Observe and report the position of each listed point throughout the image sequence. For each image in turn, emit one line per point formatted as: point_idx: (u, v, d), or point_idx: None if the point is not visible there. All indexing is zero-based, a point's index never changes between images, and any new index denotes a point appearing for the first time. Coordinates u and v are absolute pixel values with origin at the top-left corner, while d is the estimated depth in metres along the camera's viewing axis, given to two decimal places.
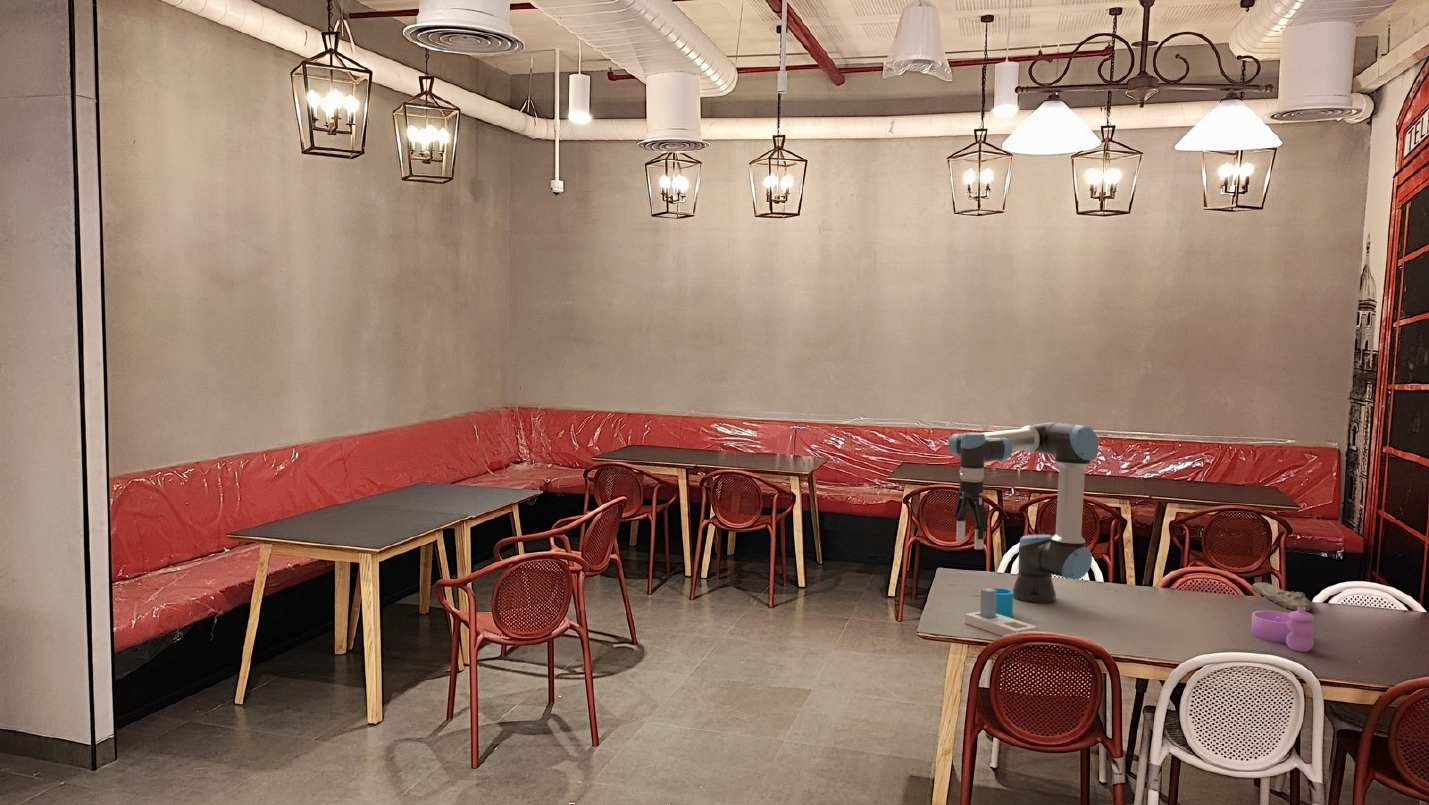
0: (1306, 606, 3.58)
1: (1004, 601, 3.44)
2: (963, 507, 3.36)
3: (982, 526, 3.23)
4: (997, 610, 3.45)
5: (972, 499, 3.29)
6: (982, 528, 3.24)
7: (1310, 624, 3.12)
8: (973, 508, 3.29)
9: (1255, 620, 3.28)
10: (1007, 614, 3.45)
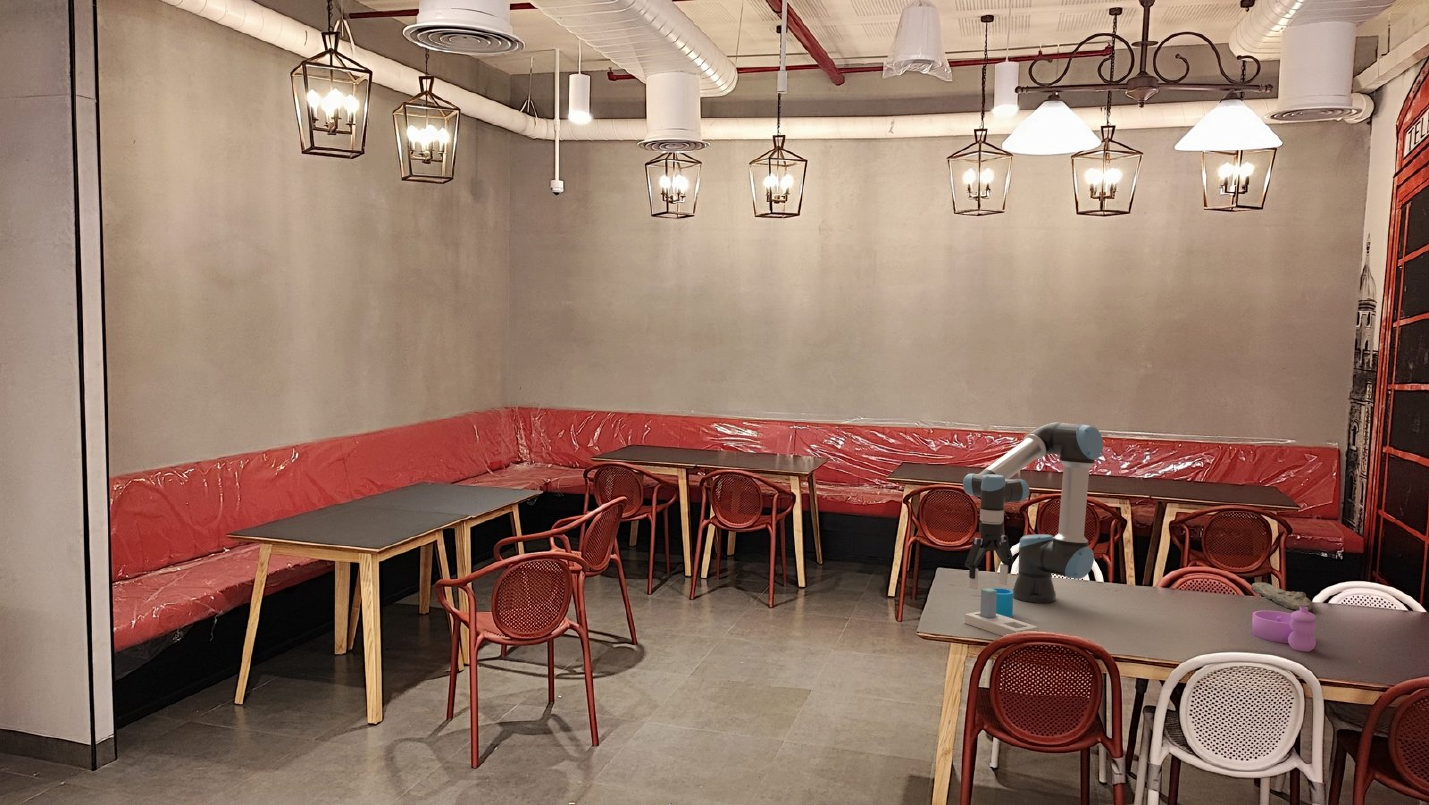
0: (1308, 606, 3.58)
1: (1004, 601, 3.44)
2: None
3: (966, 564, 3.29)
4: (997, 610, 3.45)
5: None
6: (968, 567, 3.29)
7: (1312, 624, 3.12)
8: (979, 548, 3.32)
9: (1256, 620, 3.28)
10: (1007, 614, 3.45)
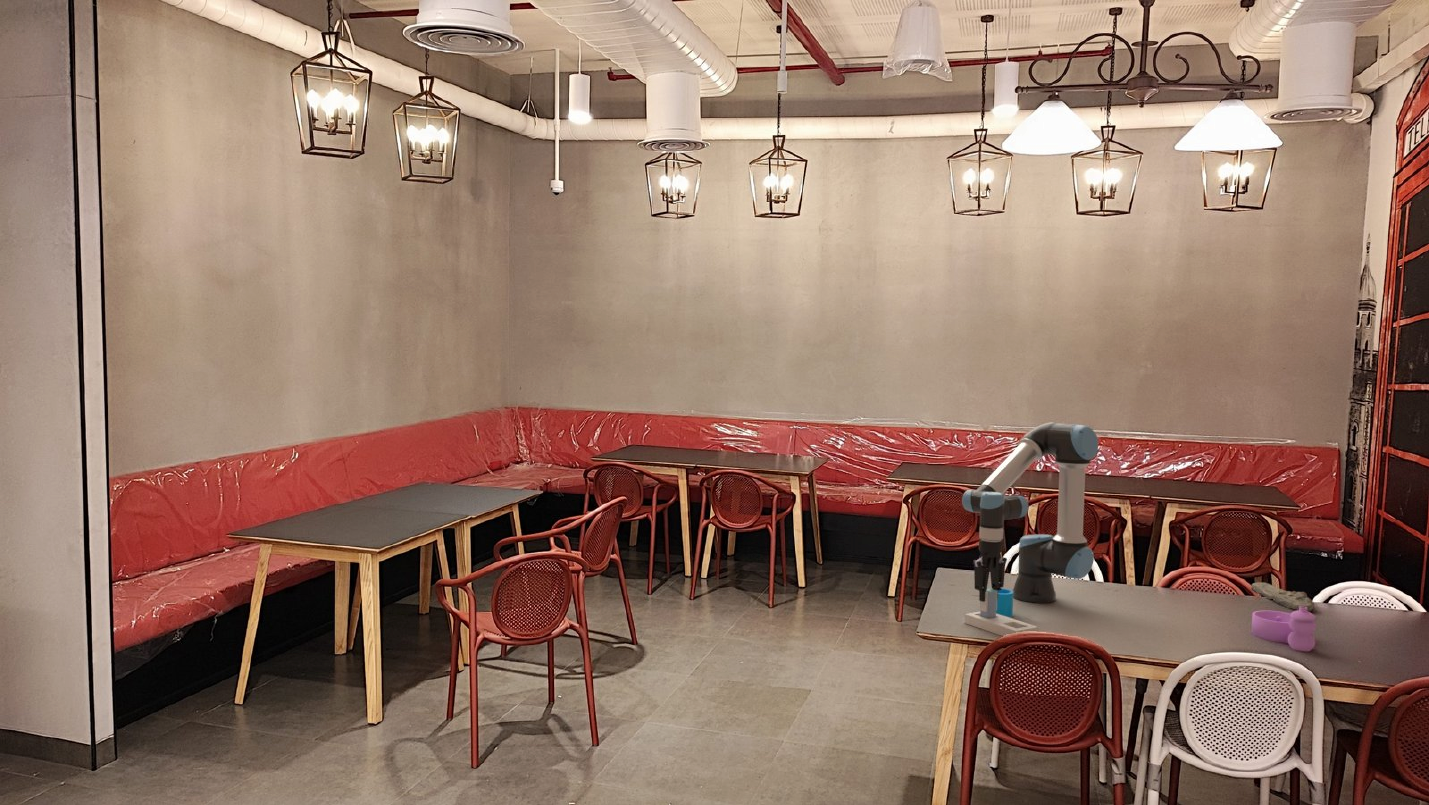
0: (1309, 606, 3.58)
1: (1004, 601, 3.44)
2: None
3: (976, 588, 3.32)
4: (997, 610, 3.45)
5: None
6: None
7: (1312, 624, 3.12)
8: (982, 568, 3.34)
9: (1256, 620, 3.28)
10: (1007, 614, 3.45)
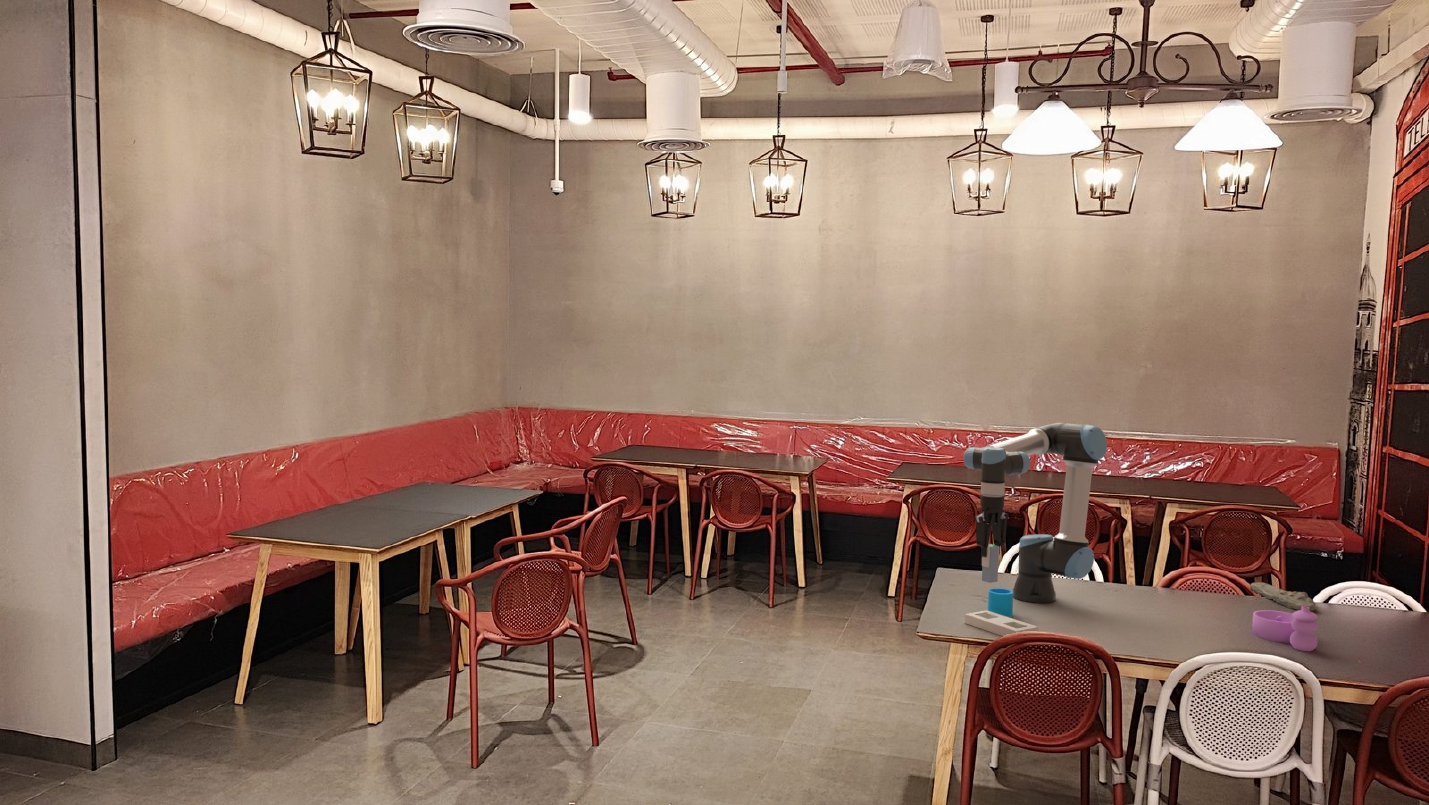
0: (1311, 606, 3.58)
1: (1004, 601, 3.44)
2: None
3: (977, 544, 3.32)
4: (997, 610, 3.45)
5: None
6: (980, 545, 3.32)
7: (1314, 623, 3.13)
8: (984, 524, 3.33)
9: (1257, 620, 3.28)
10: (1007, 614, 3.45)
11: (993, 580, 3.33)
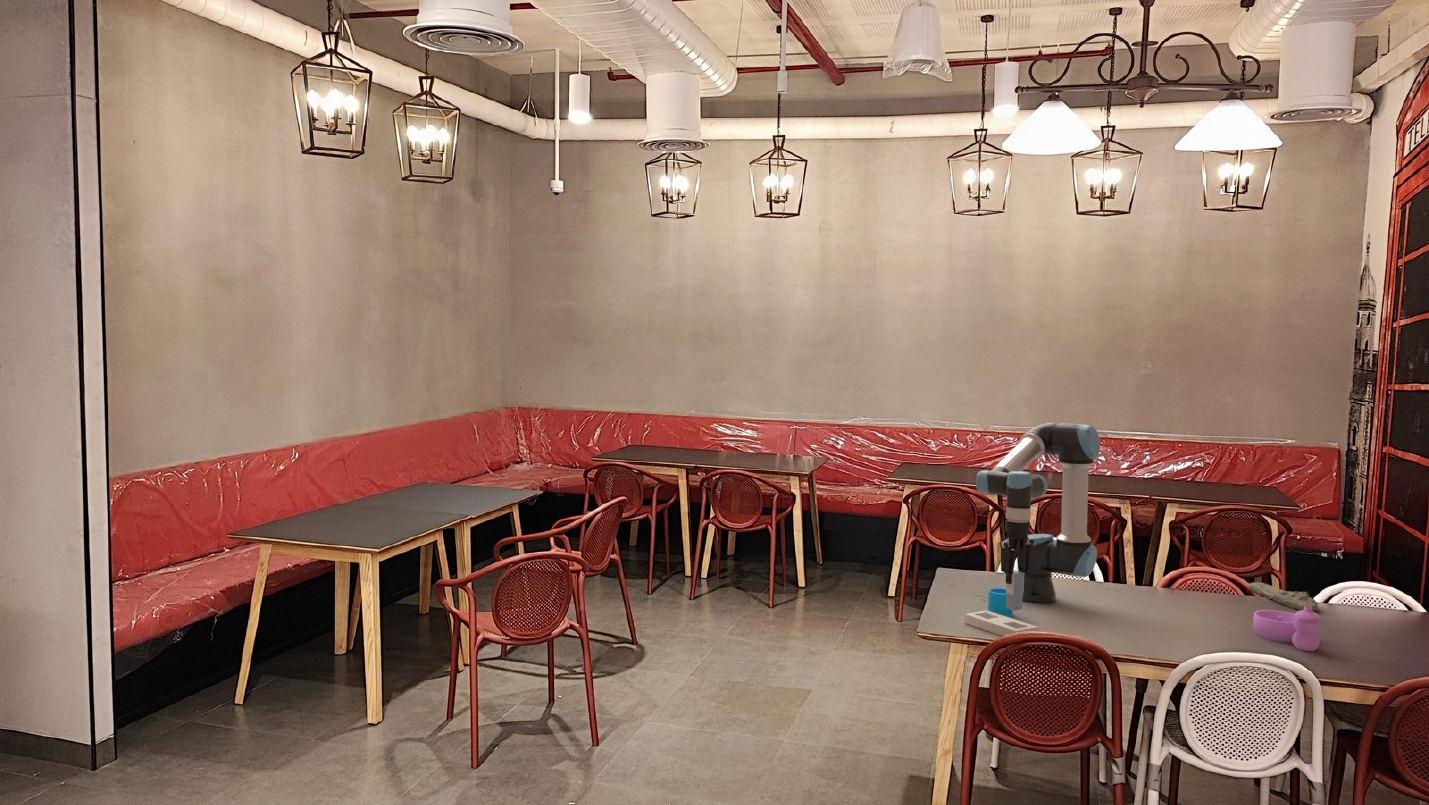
0: (1314, 606, 3.58)
1: (1004, 601, 3.44)
2: None
3: (1002, 570, 3.22)
4: (997, 610, 3.45)
5: None
6: (1005, 572, 3.22)
7: (1317, 623, 3.13)
8: (1008, 550, 3.24)
9: (1258, 620, 3.28)
10: (1007, 614, 3.45)
11: (1018, 608, 3.24)
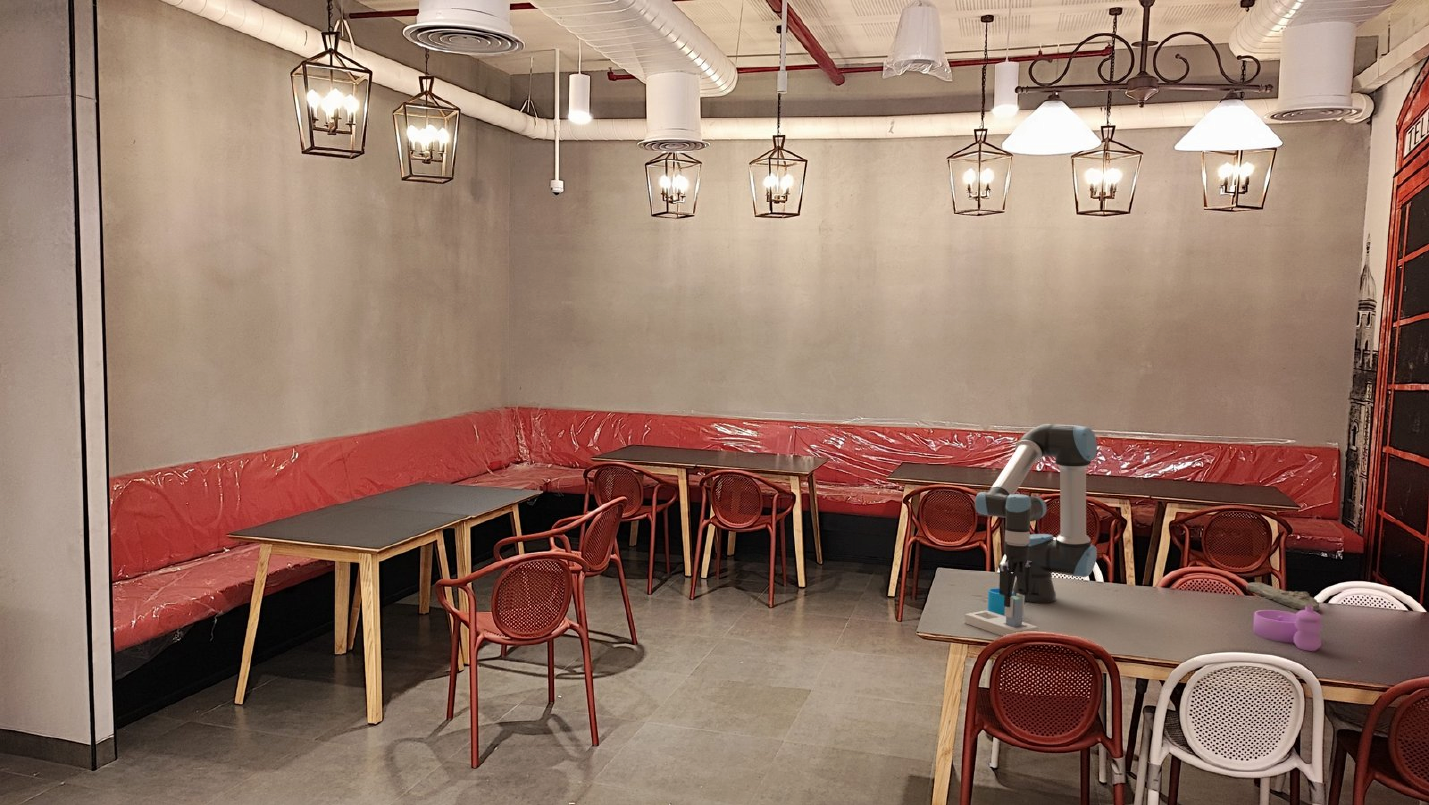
0: (1316, 606, 3.58)
1: None
2: None
3: (1000, 593, 3.23)
4: (997, 610, 3.45)
5: None
6: (1003, 595, 3.23)
7: (1318, 623, 3.13)
8: (1007, 573, 3.24)
9: (1259, 620, 3.28)
10: None
11: None
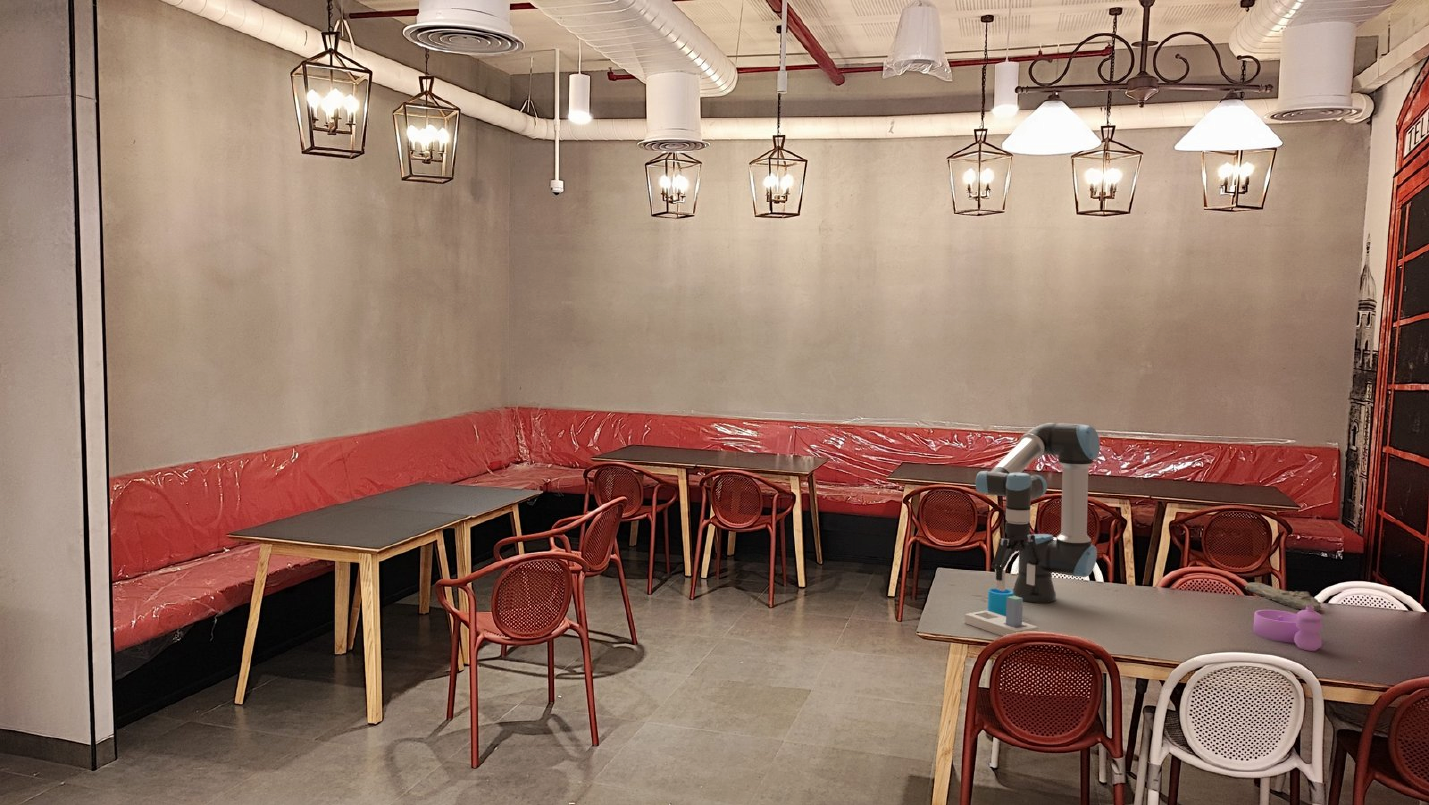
0: (1318, 606, 3.59)
1: (1004, 601, 3.44)
2: None
3: (992, 566, 3.20)
4: (997, 610, 3.45)
5: None
6: None
7: (1319, 623, 3.13)
8: (1006, 549, 3.23)
9: (1259, 620, 3.28)
10: None
11: None
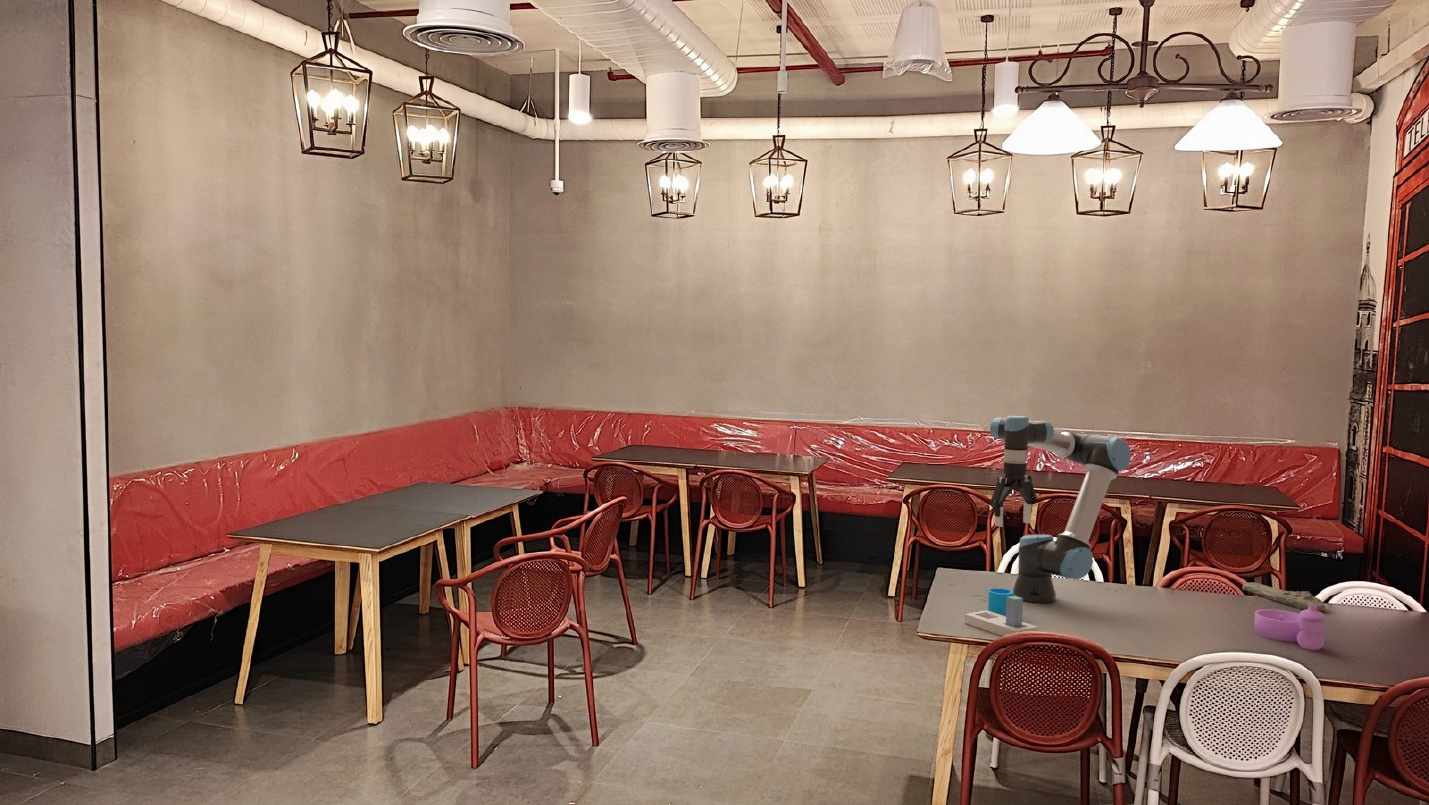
0: (1323, 606, 3.59)
1: (1004, 601, 3.44)
2: None
3: (991, 503, 3.38)
4: (997, 610, 3.45)
5: None
6: (993, 505, 3.39)
7: (1322, 622, 3.14)
8: (1004, 487, 3.42)
9: (1261, 620, 3.28)
10: None
11: None
